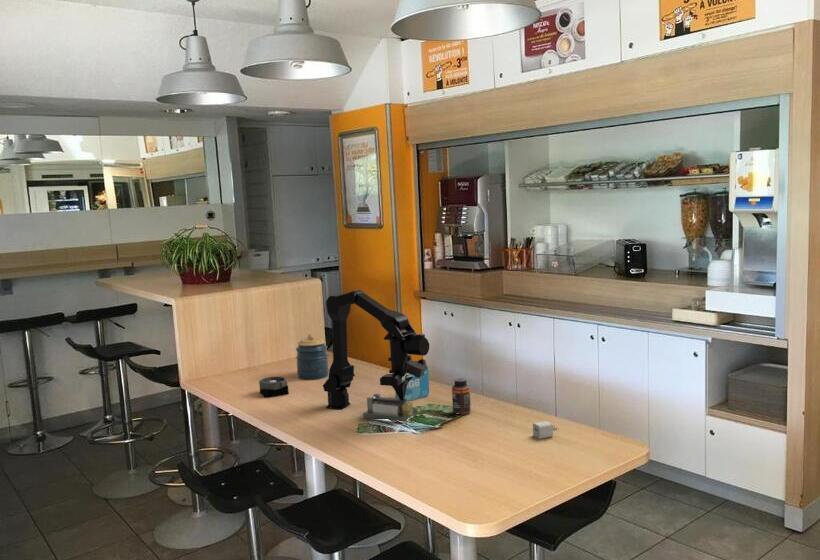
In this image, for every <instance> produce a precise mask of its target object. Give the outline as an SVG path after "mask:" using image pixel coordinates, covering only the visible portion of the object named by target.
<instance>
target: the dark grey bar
mask: <svg viewBox="0 0 820 560" xmlns="http://www.w3.org/2000/svg"><path fill="white" fill-rule="evenodd" d="M371 398H374V401H380V402H395V403H405V402H408V401H407V399H404V400H400V399H399V398H396V397H381V396H380V397H377V396H374V395H373V396H372V397H371Z"/></svg>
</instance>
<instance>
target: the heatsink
mask: <svg viewBox="0 0 820 560" xmlns="http://www.w3.org/2000/svg"><path fill="white" fill-rule="evenodd" d="M373 396H377V397H381V393H373ZM366 405H367V406H366V407H367V410H366V411H364V412H363V414H362V415H363V418H362V419H363V420H367V421H368V420H369V421H373V420H372V419H389V420H399V421H406V420H407V419H408V418H410V417H411V416H413V415H414V414H415V413H417V414H418V408H415V407H414V406H413V405H414V404H413V402H410V401H407V402H405V403H395V402H380V401H374V398H372V397H370V396H369V397H367V398H366Z"/></svg>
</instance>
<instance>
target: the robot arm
mask: <svg viewBox="0 0 820 560" xmlns="http://www.w3.org/2000/svg"><path fill="white" fill-rule="evenodd" d="M352 305H355V306H357V307H359V308H361V309H362V310H363V311H365V312H367V313H368V314H369V315H371V316H372V317H374V319H376V320H378V322H380V326H381V327H382V328H383V329H384V330H385V331H386V332H387V334H386V335H385V336H384V337H383V340H385V341H386V340H387V341H389V353H390V356H389V357H388V362H390V367H391V368H390V369H388V373H385V374H384V375H382V376H381V377H380V378H379V385H380V386H390V387H392V389H393V390H394V392H396V393H397V395H398V397H399V399H400V400H404V399H405V394H406V389H407V386H408V383H409V382H410V381H411V380H412V379H413V377H409V375H408V373H409V374H411V375H414V376H415V377H417V378H420V377H421V376H422V375H424V372H425V370H426V369H427V367H426V366H428V364H427V361H426V359H424V358H419V360H413V359H412V356H423V357H424V356H426V355H427V354H428V353H429V351H430V343H429V339H428V338H426V335H425V333H417V332H416V330H415V328H414V327H413V325H412V324H411V323H410V321H409V317H408V316H407V315H405V314H404V313H401V312H399V311H396V310H393V309H389V308H387V307H386V306H384V305H383V304H382V303H380V302H378V301H377V300H375V299H374V298H372V297H371V296H370V295H368V294H366V293H365V292H364V290H361V289H357V290H356V289H355V290H351V291H349V292H347V293H339V294H338V293H337V294H334V295H330V296H328V298H327V299H326V301H325V306H326V312H327V315H328V316H329V318H330V319H331V329H332V331H331V332H332V358H333V359H332V360H333V361H332V363H331V365H330V368H329V373H328V378H327V379H326V381H325V382H324V383H323V384H322V387H323V391H324V392H327V405H326V406H325V408H326V409H335V410H343V409H344V408H346V407H348V406H350V405H351V402H350V397H349V392H348V388H350V387H351V384H352V381H353V380H354V377H356V376H355V372H354V371H355V366H354V364H351V363H350V362H349V357H348V332H347V331H348V329H347V319H348V317H349V315H350V313H351V307H352ZM411 355H412V356H411Z"/></svg>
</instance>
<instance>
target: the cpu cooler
mask: <svg viewBox="0 0 820 560" xmlns="http://www.w3.org/2000/svg"><path fill="white" fill-rule="evenodd" d="M258 383H259V393H260V395H261V396H262V397H263V398H267V399H269V398H275V397H282V396H283V397H284V396H287V395H289V394H290V393H289V392H290V391H289V385H288V378H287V377H284V376H270V377H269V376H267V377H264V378H262V379H260V380H259V381H258Z"/></svg>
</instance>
